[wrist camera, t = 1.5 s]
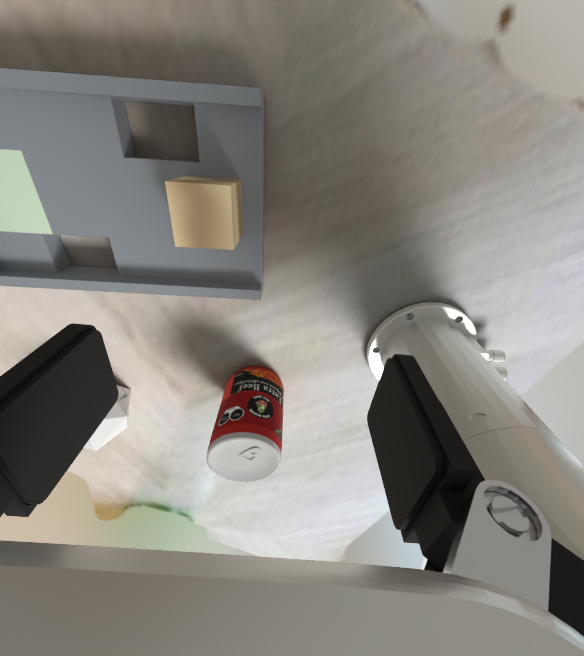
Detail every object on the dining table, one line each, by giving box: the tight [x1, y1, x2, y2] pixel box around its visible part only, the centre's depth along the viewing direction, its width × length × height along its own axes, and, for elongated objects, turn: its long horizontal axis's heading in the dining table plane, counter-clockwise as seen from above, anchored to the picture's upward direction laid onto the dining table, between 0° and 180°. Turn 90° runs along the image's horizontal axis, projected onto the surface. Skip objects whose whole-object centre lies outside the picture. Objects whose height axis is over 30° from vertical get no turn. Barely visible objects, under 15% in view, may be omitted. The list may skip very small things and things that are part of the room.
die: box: [83, 385, 131, 451], centre depth 36 cm, size 8×9×10 cm
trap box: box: [0, 68, 265, 300], centre depth 24 cm, size 26×16×5 cm, turn 87°
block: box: [165, 176, 243, 250], centre depth 23 cm, size 4×4×4 cm
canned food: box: [207, 366, 284, 482], centre depth 34 cm, size 8×8×11 cm
